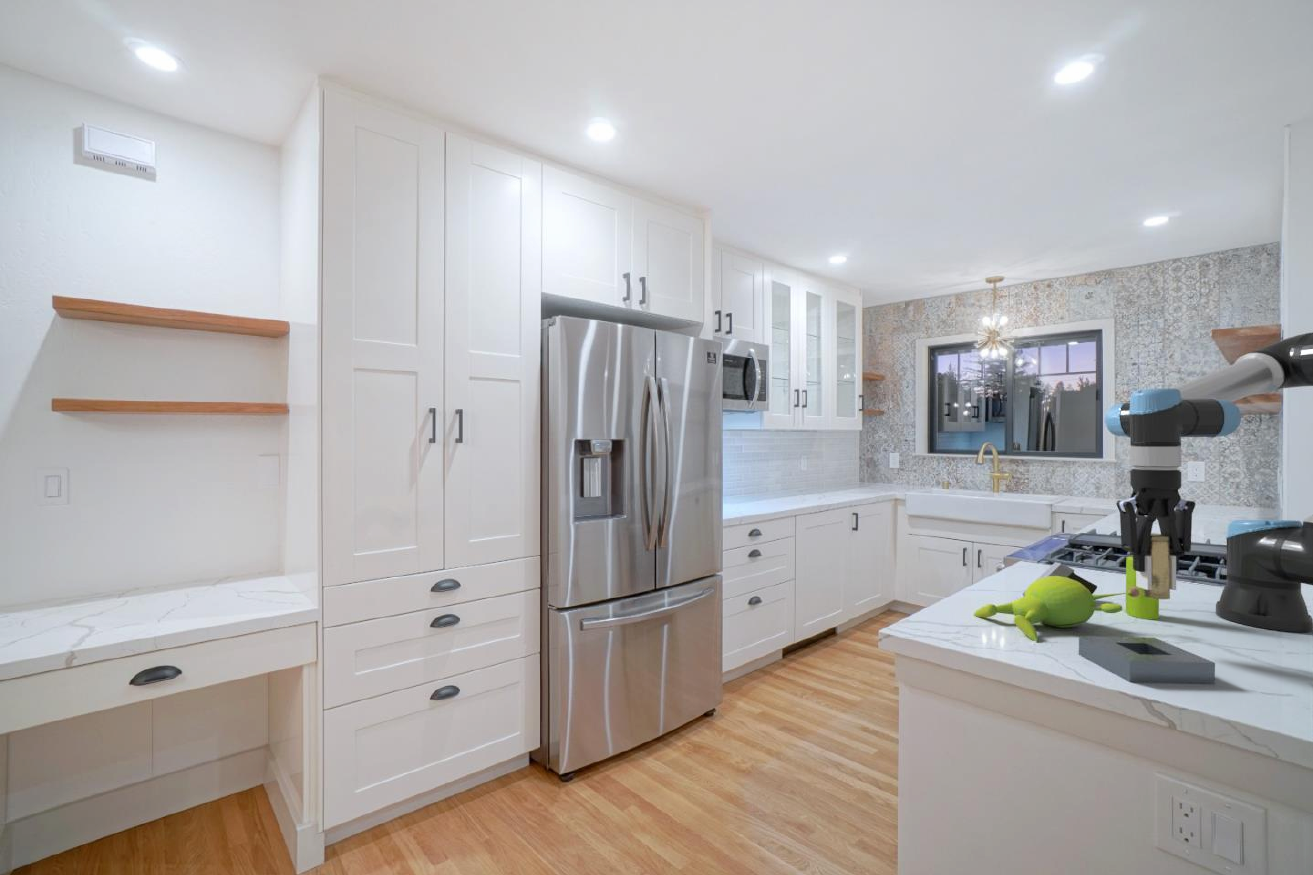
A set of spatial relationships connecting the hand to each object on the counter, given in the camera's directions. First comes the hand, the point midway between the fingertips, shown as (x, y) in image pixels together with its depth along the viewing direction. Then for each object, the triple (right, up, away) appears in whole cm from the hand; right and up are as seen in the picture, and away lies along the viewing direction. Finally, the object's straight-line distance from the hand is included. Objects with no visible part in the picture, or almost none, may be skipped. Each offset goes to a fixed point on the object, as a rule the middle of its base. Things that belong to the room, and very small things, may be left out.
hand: (1156, 587), depth 112 cm
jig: (-11, -12, -10) cm, 19 cm away
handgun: (+4, -12, +33) cm, 35 cm away
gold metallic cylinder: (0, -2, 0) cm, 2 cm away
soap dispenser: (+15, -12, +22) cm, 29 cm away
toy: (-9, -12, +14) cm, 21 cm away
